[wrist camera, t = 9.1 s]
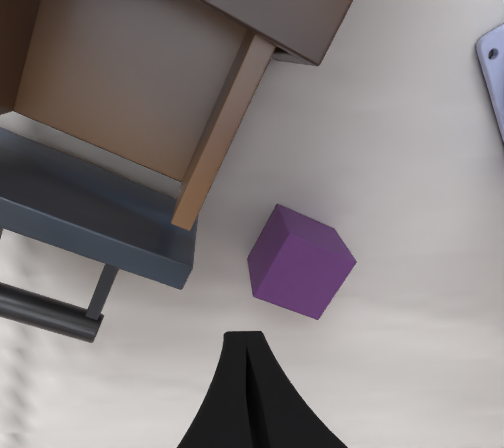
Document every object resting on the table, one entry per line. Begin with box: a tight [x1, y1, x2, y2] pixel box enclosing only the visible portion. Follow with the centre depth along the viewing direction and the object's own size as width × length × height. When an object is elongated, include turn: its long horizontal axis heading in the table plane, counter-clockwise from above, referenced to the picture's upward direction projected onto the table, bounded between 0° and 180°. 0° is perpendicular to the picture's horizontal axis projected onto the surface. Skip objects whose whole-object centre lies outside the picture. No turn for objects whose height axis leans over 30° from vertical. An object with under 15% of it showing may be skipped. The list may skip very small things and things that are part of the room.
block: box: [247, 204, 357, 320], centre depth 21 cm, size 4×4×4 cm
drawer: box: [0, 0, 276, 343], centre depth 16 cm, size 18×11×6 cm, turn 154°
